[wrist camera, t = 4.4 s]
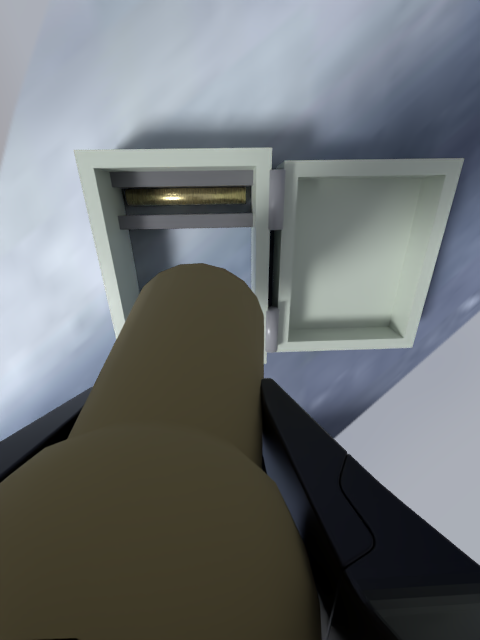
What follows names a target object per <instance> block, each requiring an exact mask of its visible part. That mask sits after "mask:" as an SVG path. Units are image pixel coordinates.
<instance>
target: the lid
mask: <svg viewBox="0 0 480 640" xmlns="http://www.w3.org/2000/svg"><path fill="white" fill-rule="evenodd" d="M463 162H464V158H436V159H362V160H288V161H283V162H282V163H281V164H279V165H278V166H277V167H276V169H284V170H286V176H285V197H284V219H283V229H282V230H274V254H273V284H272V307H277V308H279V328H278V349H277V351H276V352H295V351H326V350H357V349H388V348H412V346H413V343H414V339H415V336H416V332H417V328H418V325H419V321H420V317H421V314H422V310H423V307H424V303H425V299H426V296H427V292H428V289H429V285H430V281H431V278H432V274H433V270H434V267H435V263H436V260H437V256H438V252H439V249H440V245H441V242H442V238H443V234H444V231H445V227H446V223H447V220H448V216H449V213H450V209H451V205H452V202H453V198H454V195H455V191H456V187H457V184H458V180H459V176H460V173H461V169H462V166H463Z"/></svg>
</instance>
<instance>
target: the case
mask: <svg viewBox="0 0 480 640" xmlns="http://www.w3.org/2000/svg"><path fill="white" fill-rule="evenodd" d="M74 154H75V159H76V163H77V168H78V172H79V176H80V181H81V185H82V190H83V194H84V198H85V203H86V207H87V212H88V216H89V221H90V225H91V229H92V234H93V238H94V243H95V247H96V251H97V256H98V260H99V265H100V269H101V273H102V278H103V282H104V287H105V291H106V295H107V300H108V304H109V309H110V313H111V318H112V322H113V326H114V331H115V335H116V339H117V337H118V335H119V333H120V331H121V329H122V327H123V325H124V323H125V321H126V319H127V317H128V315H129V313H130V311H131V309H132V307H133V305H134V303H135V301H136V299H137V298H138V296H139V294H140V292H139V286H138V281H137V275H136V269H135V263H134V258H133V252H132V246H131V240H130V235H129V230H130V229H179V228H229V227H251V290H252V292H253V293H254V294H255V295H256V296H257V298H258V301H259V304H260V306H261V309H262V312H263V314H264V364H266V355H267V352H268V353H273V352H276V351H277V349H278V328H279V308H277V307H268V282H269V245H270V230H282V229H283V219H284V197H285V176H286V170H284V169H274V170H272V148H194V149H112V150H74ZM241 186H251V213H207V214H154V215H126V212H125V206H124V200H123V194H122V189H121V188H179V187H241Z"/></svg>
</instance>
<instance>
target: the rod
mask: <svg viewBox="0 0 480 640" xmlns="http://www.w3.org/2000/svg"><path fill="white" fill-rule="evenodd" d="M125 197H126V201H127V203H128V205H129V206H142V205H202V204H246V187H209V188H144V189H126V191H125Z"/></svg>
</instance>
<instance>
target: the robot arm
mask: <svg viewBox="0 0 480 640" xmlns="http://www.w3.org/2000/svg"><path fill="white" fill-rule="evenodd" d="M92 388H93V387H91V388H89V389H87V390H86V391H84V392H82V393H81V394H79V395H77V396H76V397H74V398H72V399H71V400H69V401H67V402H66V403H64V404H62V405H61V406H59V407H57V408H56V409H54V410H52V411H51V412H49V413H47V414H46V415H44V416H42V417H41V418H39V419H37V420H36V421H34V422H32V423H31V424H29V425H27V426H26V427H24V428H22V429H21V430H19V431H17V432H16V433H14V434H12V435H11V436H9V437H7V438H6V439H4V440H2V441H1V442H0V483H1V482H2V481H3V480H5V479H6V478H7V477H8V476H9V475H11V474H12V473H13V472H14V471H16V470H17V469H18V468H19V467H21V466H22V465H23V464H25V463H26V462H27V461H28V460H30V459H31V458H32V457H34V456H35V455H36V454H38V453H39V452H40V451H41V450H43V449H44V448H46V447H48V446H51V445H54V444H56V443H59V442H62V441H64V440H67V438H68V436H69V434H70V432H71V430H72V428H73V426H74V424H75V422H76V420H77V418H78V416H79V414H80V412H81V410H82V408H83V406H84V404H85V402H86V400H87V398H88V396H89V394H90V392H91V390H92ZM260 393H261V402H262V417H263V448H262V451H263V456H262V470H263V471H264V472H265V473H266V474H267V475H268V476H269V477H270V478H271V479H272V480H273V481H274V482H276V484H277V486H278V489H279V491H280V493H281V495H282V497H283V499H284V501H285V503H286V505H287V507H288V509H289V511H290V513H291V516H292V518H293V520H294V522H295V524H296V527H297V529H298V531H299V533H300V536H301V538H302V540H303V542H304V544H305V547H306V549H307V552H308V556H309V560H310V564H311V568H312V573H313V577H314V581H315V585H316V589H317V593H318V598H319V602H320V613H321V633H322V640H480V565H478V564H477V563H476V562H475V561H474V560H472V559H471V558H470V557H469V556H467V555H466V554H465V553H464V552H463V551H461V550H460V549H459V548H457V547H456V546H455V545H454V544H453V543H451V542H450V541H449V540H448V539H447V538H445V537H444V536H443V535H442V534H441V533H439V532H438V531H437V530H436V529H435V528H433V527H432V526H431V525H429V524H428V523H427V522H426V521H425V520H424V519H422V518H421V517H420V516H419V515H417V514H416V513H415V512H414V511H412V510H411V509H410V508H409V507H408V506H406V505H405V504H404V503H403V502H402V501H401V500H399V499H398V498H397V497H396V496H395V495H393V494H392V493H391V492H390V491H389V490H388V489H386V488H385V487H384V486H383V485H382V484H380V483H379V482H378V481H377V480H376V479H375V478H374V477H373V476H372V475H371V474H370V473H369V472H367V470H365V469H364V468H363V467H362V466H361V465H360V464H359V463H358V462H357V461H356V460H355V459H354V458H353V457H352V456H351V455H350V454H347V451H346V450H345V449H344V448H342V447H341V446H340V445H339V444H338V443H337V442H336V441H335V440H334V439H333V438H332V437H331V436H330V435H329V434H328V433H327V432H326V431H325V430H324V429H323V428H322V427H321V426H320V425H319V424H318V423H317V422H316V421H315V420H314V419H313V418H312V417H311V416H310V415H309V414H308V413H307V412H306V411H305V410H304V409H302V408H301V407H300V406H299V405H298V404H297V403H296V402H295V401H294V400H293V399H292V398H291V397H290V396H289V395H288V394H287V393H286V392H285V391H284V390H283V389H282V388H281V387H280V386H279V385H278V384H277V383H276V382H275V381H274V380H273V379H271V378H263V379H261V386H260Z"/></svg>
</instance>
